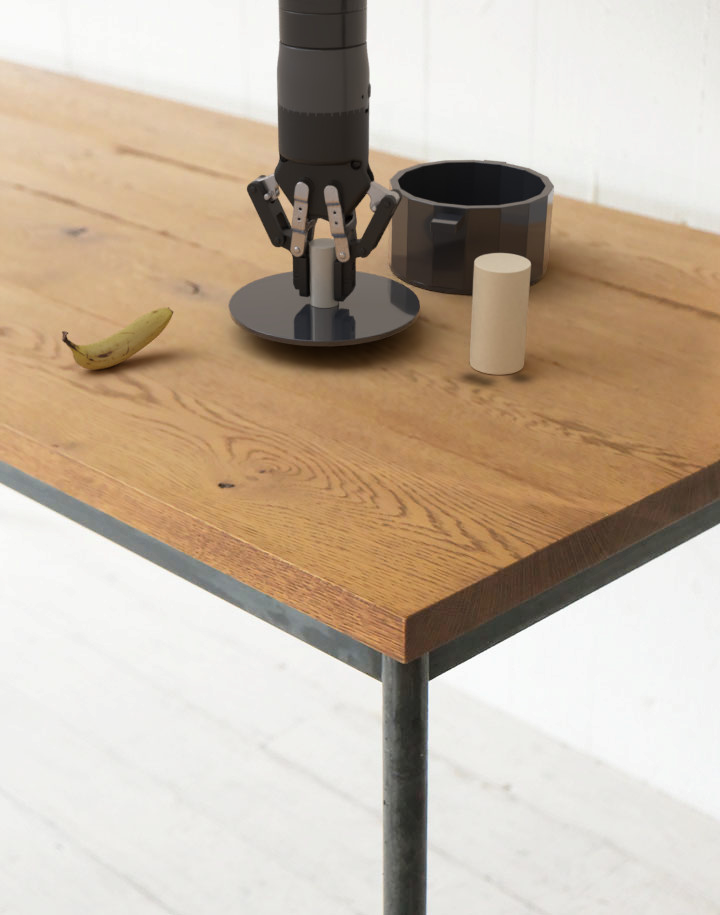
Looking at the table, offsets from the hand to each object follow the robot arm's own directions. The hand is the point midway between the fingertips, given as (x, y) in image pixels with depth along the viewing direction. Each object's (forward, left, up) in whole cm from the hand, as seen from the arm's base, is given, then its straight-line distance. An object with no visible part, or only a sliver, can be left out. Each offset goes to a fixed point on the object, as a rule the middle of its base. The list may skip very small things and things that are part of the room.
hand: (324, 295), depth 118 cm
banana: (+14, +12, -4) cm, 19 cm away
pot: (-8, -20, -3) cm, 22 cm away
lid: (0, 0, -1) cm, 1 cm away
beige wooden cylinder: (-16, +2, -3) cm, 16 cm away
